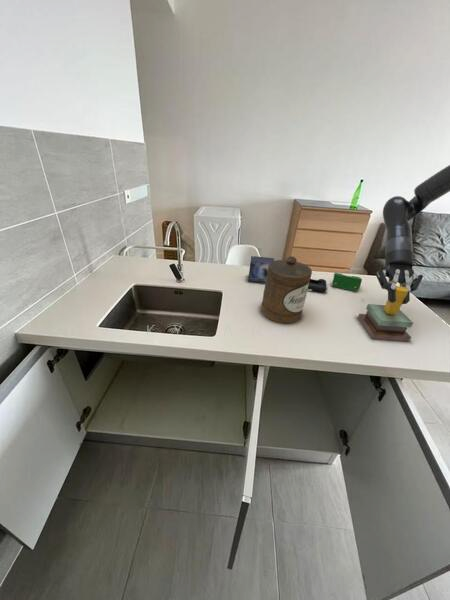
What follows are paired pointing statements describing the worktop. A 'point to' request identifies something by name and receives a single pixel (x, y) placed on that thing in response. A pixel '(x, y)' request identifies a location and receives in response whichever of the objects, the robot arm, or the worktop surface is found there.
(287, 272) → the wooden container
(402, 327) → the two-tone stepped base
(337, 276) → the green block
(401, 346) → the worktop surface
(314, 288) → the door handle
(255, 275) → the small box
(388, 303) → the bar
